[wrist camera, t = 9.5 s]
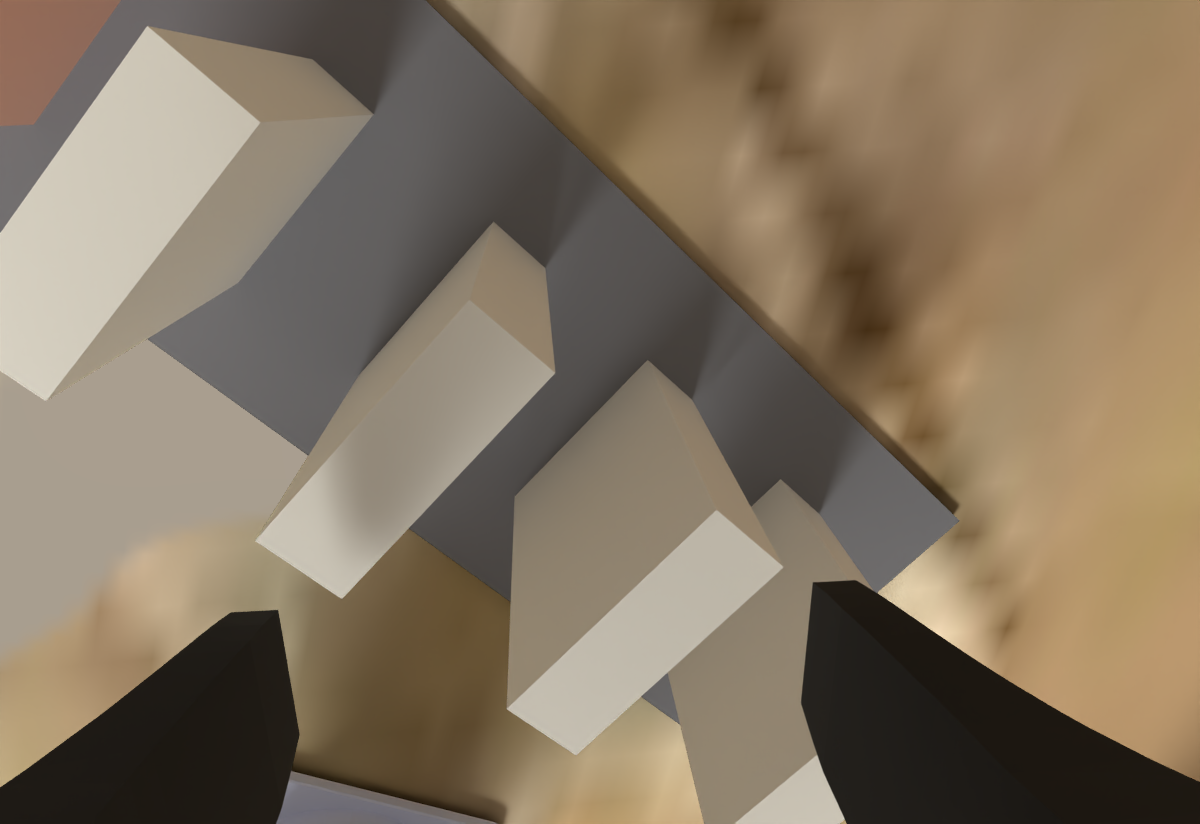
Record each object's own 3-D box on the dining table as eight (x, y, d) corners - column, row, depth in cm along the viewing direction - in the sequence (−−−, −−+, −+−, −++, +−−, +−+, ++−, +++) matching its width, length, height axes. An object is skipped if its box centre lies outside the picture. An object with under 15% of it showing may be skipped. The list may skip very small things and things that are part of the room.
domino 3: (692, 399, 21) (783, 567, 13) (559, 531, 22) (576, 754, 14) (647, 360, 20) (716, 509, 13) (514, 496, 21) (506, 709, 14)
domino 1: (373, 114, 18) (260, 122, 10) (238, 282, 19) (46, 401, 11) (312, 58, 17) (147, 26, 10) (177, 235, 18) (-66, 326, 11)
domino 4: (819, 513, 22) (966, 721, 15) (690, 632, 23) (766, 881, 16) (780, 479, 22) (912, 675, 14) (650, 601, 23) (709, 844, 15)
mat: (954, 515, 23) (959, 520, 23) (702, 735, 25) (704, 742, 25) (21, -394, 15) (11, -404, 14) (-241, 49, 17) (-254, 48, 16)
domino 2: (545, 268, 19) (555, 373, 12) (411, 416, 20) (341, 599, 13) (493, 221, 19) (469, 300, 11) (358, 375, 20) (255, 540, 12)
